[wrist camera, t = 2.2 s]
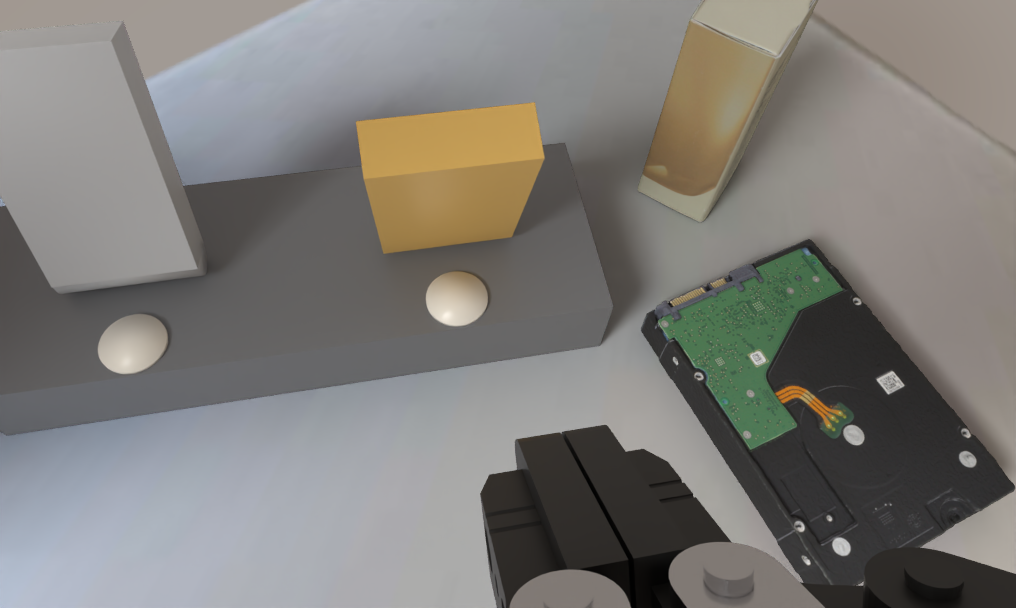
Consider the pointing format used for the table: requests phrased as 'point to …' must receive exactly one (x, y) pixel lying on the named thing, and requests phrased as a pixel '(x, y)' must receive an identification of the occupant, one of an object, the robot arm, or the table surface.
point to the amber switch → (450, 174)
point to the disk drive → (821, 414)
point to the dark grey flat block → (296, 303)
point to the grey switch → (90, 162)
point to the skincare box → (719, 97)
